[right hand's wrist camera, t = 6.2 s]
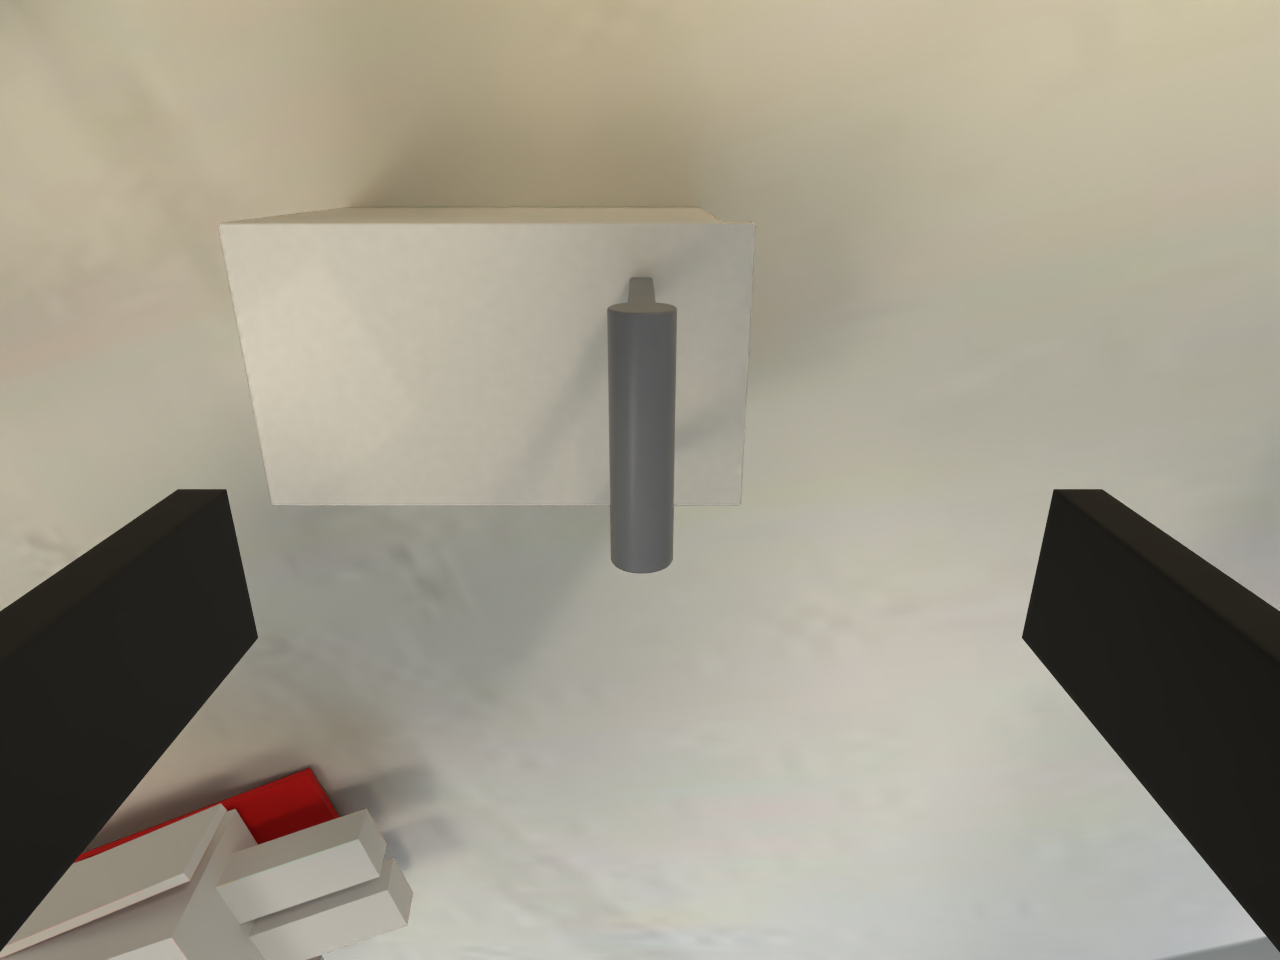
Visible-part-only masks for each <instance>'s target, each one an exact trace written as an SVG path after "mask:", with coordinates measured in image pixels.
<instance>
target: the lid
mask: <svg viewBox="0 0 1280 960" xmlns="http://www.w3.org/2000/svg"><path fill="white" fill-rule="evenodd" d="M218 229H219V234H220V239H221V244H222V249H223V255H224V260H225V265H226V270H227V275H228V281H229V286H230V291H231V296H232V301H233V307H234V312H235V317H236V322H237V327H238V333H239V338H240V343H241V348H242V353H243V359H244V364H245V369H246V374H247V379H248V385H249V390H250V395H251V400H252V405H253V411H254V416H255V421H256V426H257V431H258V437H259V442H260V447H261V452H262V457H263V463H264V468H265V473H266V478H267V483H268V489H269V494H270V499H271V504H272V506H610V529H611V560H612V563H613V564H614V565H615V566H616V567H617V568H619V569H621V570H624V571H627V572H632V573H652V572H657V571H660V570H662V569H665V568H666V567H668V566H669V565H670V564H671V562H672V560H673V514H674V506H739V505H740V504H741V495H742V476H743V457H744V438H745V419H746V400H747V381H748V362H749V343H750V324H751V305H752V286H753V267H754V248H755V229H756V225H755V223H753V222H750V221H231V222H223V223H219V224H218Z"/></svg>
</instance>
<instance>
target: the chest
mask: <svg viewBox="0 0 1280 960" xmlns="http://www.w3.org/2000/svg"><path fill="white" fill-rule="evenodd" d="M239 221H720V220H719V219H717V218H715V217H714V216H712V215H710V214H709V213H707V212H705V211H704V210H702V209H701V208H699V207H346V208H338V209H330V210H322V211H313V212H305V213H297V214H289V215H280V216H272V217H264V218H256V219H247V220H239Z"/></svg>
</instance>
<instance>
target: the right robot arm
mask: <svg viewBox="0 0 1280 960" xmlns="http://www.w3.org/2000/svg"><path fill="white" fill-rule="evenodd" d="M257 638H258V635H257V631H256V626H255V621H254V617H253V612H252V607H251V603H250V598H249V593H248V589H247V584H246V579H245V575H244V570H243V565H242V561H241V556H240V551H239V547H238V542H237V537H236V533H235V528H234V523H233V519H232V514H231V509H230V505H229V500H228V495H227V491H226V489H178V490H176V491H175V492H173V493H172V494H171V495H169V496H168V497H166V498H165V499H163V500H162V501H160V502H159V503H157V504H156V505H155V506H153V507H152V508H150V509H149V510H147V511H146V512H144V513H143V514H141V515H140V516H139V517H137V518H136V519H134V520H133V521H131V522H130V523H128V524H127V525H125V526H124V527H123V528H121V529H120V530H118V531H117V532H115V533H114V534H112V535H111V536H109V537H108V538H107V539H105V540H104V541H102V542H101V543H99V544H98V545H96V546H95V547H93V548H92V549H91V550H89V551H88V552H86V553H85V554H83V555H82V556H80V557H79V558H77V559H76V560H75V561H73V562H72V563H70V564H69V565H67V566H66V567H64V568H63V569H61V570H60V571H59V572H57V573H56V574H54V575H53V576H51V577H50V578H48V579H47V580H45V581H44V582H42V583H41V584H40V585H38V586H37V587H35V588H34V589H32V590H31V591H29V592H28V593H26V594H25V595H24V596H22V597H21V598H19V599H18V600H16V601H15V602H13V603H12V604H10V605H9V606H8V607H6V608H5V609H3V610H2V611H0V952H1V951H2V949H3V948H4V947H5V946H6V945H7V943H8V942H9V941H10V940H11V938H12V937H13V936H14V935H15V934H16V932H17V931H18V930H19V929H20V927H21V926H22V925H23V924H24V923H25V921H26V920H27V919H28V918H29V916H30V915H31V914H32V913H33V912H34V910H35V909H36V908H37V907H38V905H39V904H40V903H41V902H42V901H43V899H44V898H45V897H46V896H47V895H48V893H49V892H50V891H51V890H52V888H53V887H54V886H55V885H56V884H57V882H58V881H59V880H60V879H61V877H62V876H63V875H64V874H65V873H66V871H67V870H68V869H69V868H70V866H71V865H72V864H73V863H74V862H75V860H76V859H77V858H78V857H79V855H80V854H81V853H82V852H83V851H84V849H85V848H86V847H87V846H88V845H89V843H90V842H91V841H92V840H93V838H94V837H95V836H96V835H97V834H98V832H99V831H100V830H101V829H102V827H103V826H104V825H105V824H106V823H107V821H108V820H109V819H110V818H111V816H112V815H113V814H114V813H115V812H116V810H117V809H118V808H119V807H120V806H121V804H122V803H123V802H124V801H125V799H126V798H127V797H128V796H129V795H130V793H131V792H132V791H133V790H134V788H135V787H136V786H137V785H138V784H139V782H140V781H141V780H142V779H143V777H144V776H145V775H146V774H147V773H148V771H149V770H150V769H151V768H152V766H153V765H154V764H155V763H156V762H157V760H158V759H159V758H160V757H161V756H162V754H163V753H164V752H165V751H166V749H167V748H168V747H169V746H170V745H171V743H172V742H173V741H174V740H175V738H176V737H177V736H178V735H179V734H180V732H181V731H182V730H183V729H184V727H185V726H186V725H187V724H188V723H189V721H190V720H191V719H192V718H193V716H194V715H195V714H196V713H197V712H198V710H199V709H200V708H201V707H202V706H203V704H204V703H205V702H206V701H207V699H208V698H209V697H210V696H211V695H212V693H213V692H214V691H215V690H216V688H217V687H218V686H219V685H220V684H221V682H222V681H223V680H224V679H225V677H226V676H227V675H228V674H229V673H230V671H231V670H232V669H233V668H234V666H235V665H236V664H237V663H238V662H239V660H240V659H241V658H242V657H243V656H244V654H245V653H246V652H247V651H248V649H249V648H250V647H251V646H252V645H253V643H254V642H255V641H256V640H257ZM1022 638H1023V640H1024V641H1025V642H1026V643H1027V645H1028V646H1029V647H1030V648H1031V649H1032V651H1033V652H1034V653H1035V654H1036V656H1037V657H1038V658H1039V659H1040V660H1041V662H1042V663H1043V664H1044V665H1045V666H1046V668H1047V669H1048V670H1049V671H1050V673H1051V674H1052V675H1053V676H1054V677H1055V679H1056V680H1057V681H1058V682H1059V684H1060V685H1061V686H1062V687H1063V688H1064V690H1065V691H1066V692H1067V693H1068V695H1069V696H1070V697H1071V698H1072V699H1073V701H1074V702H1075V703H1076V704H1077V706H1078V707H1079V708H1080V709H1081V710H1082V712H1083V713H1084V714H1085V715H1086V716H1087V718H1088V719H1089V720H1090V721H1091V723H1092V724H1093V725H1094V726H1095V727H1096V729H1097V730H1098V731H1099V732H1100V734H1101V735H1102V736H1103V737H1104V738H1105V740H1106V741H1107V742H1108V743H1109V745H1110V746H1111V747H1112V748H1113V749H1114V751H1115V752H1116V753H1117V754H1118V756H1119V757H1120V758H1121V759H1122V760H1123V762H1124V763H1125V764H1126V765H1127V766H1128V768H1129V769H1130V770H1131V771H1132V773H1133V774H1134V775H1135V776H1136V777H1137V779H1138V780H1139V781H1140V782H1141V784H1142V785H1143V786H1144V787H1145V788H1146V790H1147V791H1148V792H1149V793H1150V795H1151V796H1152V797H1153V798H1154V799H1155V801H1156V802H1157V803H1158V804H1159V806H1160V807H1161V808H1162V809H1163V810H1164V812H1165V813H1166V814H1167V815H1168V816H1169V818H1170V819H1171V820H1172V821H1173V823H1174V824H1175V825H1176V826H1177V827H1178V829H1179V830H1180V831H1181V832H1182V834H1183V835H1184V836H1185V837H1186V838H1187V840H1188V841H1189V842H1190V843H1191V845H1192V846H1193V847H1194V848H1195V849H1196V851H1197V852H1198V853H1199V854H1200V855H1201V857H1202V858H1203V859H1204V860H1205V862H1206V863H1207V864H1208V865H1209V866H1210V868H1211V869H1212V870H1213V871H1214V873H1215V874H1216V875H1217V876H1218V877H1219V879H1220V880H1221V881H1222V882H1223V884H1224V885H1225V886H1226V887H1227V888H1228V890H1229V891H1230V892H1231V893H1232V895H1233V896H1234V897H1235V898H1236V899H1237V901H1238V902H1239V903H1240V904H1241V905H1242V907H1243V908H1244V909H1245V910H1246V912H1247V913H1248V914H1249V915H1250V916H1251V918H1252V919H1253V920H1254V921H1255V923H1256V924H1257V925H1258V926H1259V927H1260V929H1261V930H1262V931H1263V932H1264V934H1265V935H1266V936H1267V937H1268V938H1269V940H1270V941H1271V942H1272V943H1273V945H1274V946H1275V947H1276V948H1277V949H1278V951H1279V952H1280V611H1278V610H1277V609H1275V608H1274V607H1272V606H1271V605H1270V604H1268V603H1267V602H1265V601H1264V600H1262V599H1261V598H1259V597H1258V596H1256V595H1255V594H1254V593H1252V592H1251V591H1249V590H1248V589H1246V588H1245V587H1243V586H1242V585H1240V584H1239V583H1238V582H1236V581H1235V580H1233V579H1232V578H1230V577H1229V576H1227V575H1226V574H1224V573H1223V572H1221V571H1220V570H1219V569H1217V568H1216V567H1214V566H1213V565H1211V564H1210V563H1208V562H1207V561H1205V560H1204V559H1203V558H1201V557H1200V556H1198V555H1197V554H1195V553H1194V552H1192V551H1191V550H1189V549H1188V548H1187V547H1185V546H1184V545H1182V544H1181V543H1179V542H1178V541H1176V540H1175V539H1173V538H1172V537H1171V536H1169V535H1168V534H1166V533H1165V532H1163V531H1162V530H1160V529H1159V528H1157V527H1156V526H1155V525H1153V524H1152V523H1150V522H1149V521H1147V520H1146V519H1144V518H1143V517H1141V516H1140V515H1139V514H1137V513H1136V512H1134V511H1133V510H1131V509H1130V508H1128V507H1127V506H1125V505H1124V504H1123V503H1121V502H1120V501H1118V500H1117V499H1115V498H1114V497H1112V496H1111V495H1109V494H1108V493H1107V492H1105V491H1104V490H1102V489H1054V491H1053V495H1052V500H1051V505H1050V509H1049V514H1048V519H1047V523H1046V528H1045V533H1044V537H1043V542H1042V547H1041V551H1040V556H1039V561H1038V565H1037V570H1036V575H1035V579H1034V584H1033V589H1032V593H1031V598H1030V603H1029V607H1028V612H1027V617H1026V621H1025V626H1024V631H1023V635H1022Z"/></svg>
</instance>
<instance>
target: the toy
mask: <svg viewBox="0 0 1280 960" xmlns="http://www.w3.org/2000/svg"><path fill="white" fill-rule="evenodd" d="M386 847H387V844H386V842H385V840H384V838H383V837H382V835H381V833H380V831H379V829H378V827H377V826H376V824H375V822H374V820H373V818H372V817H371V815H370V813H369V811H368V809H367V808H366V809H363V810H360V811H357V812H354V813H351V814H348V815H345V816H342V817H339V815H338V814H337V812H336V811H335V809H334V807H333V806H332V804H331V802H330V801H329V799H328V797H327V796H326V794H325V792H324V791H323V789H322V787H321V786H320V784H319V782H318V781H317V779H316V777H315V776H314V774H313V773H312V771H311V769H310V768H308V769H305V770H303V771H300V772H297V773H295V774H292V775H289V776H287V777H284V778H282V779H279V780H276V781H274V782H271V783H268V784H266V785H263V786H260V787H258V788H255V789H252V790H250V791H247V792H244V793H242V794H239V795H236V796H234V797H231V798H228V799H226V800H223V801H220V802H218V803H215V804H212V805H210V806H207V807H205V808H202V809H199V810H197V811H194V812H191V813H189V814H186V815H183V816H181V817H178V818H175V819H173V820H170V821H167V822H165V823H162V824H159V825H157V826H154V827H151V828H149V829H146V830H143V831H141V832H138V833H136V834H133V835H130V836H128V837H125V838H122V839H120V840H117V841H114V842H112V843H109V844H106V845H104V846H101V847H98V848H96V849H93V850H90V851H88V852H85V853H82V854H80V855H79V857H78V858H77V859H76V860H75V862H74V863H73V864H72V865H71V866H70V868H69V869H68V870H67V871H66V873H65V874H64V875H63V876H62V877H61V879H60V880H59V881H58V882H57V884H56V885H55V886H54V887H53V888H52V890H51V891H50V892H49V893H48V895H47V896H46V897H45V898H44V899H43V901H42V902H41V903H40V904H39V905H38V907H37V908H36V909H35V910H34V912H33V913H32V914H31V915H30V916H29V918H28V919H27V920H26V921H25V923H24V924H23V925H22V926H21V927H20V929H19V930H18V931H17V932H16V934H15V935H14V936H13V937H12V938H11V940H10V941H9V942H8V943H7V945H6V946H5V947H4V948H3V949H2V951H1V952H0V960H324V959H323V957H322V954H325V953H328V952H331V951H334V950H337V949H339V948H342V947H345V946H348V945H351V944H354V943H357V942H360V941H363V940H366V939H369V938H372V937H375V936H378V935H380V934H383V933H386V932H389V931H392V930H395V929H398V928H401V927H404V926H407V924H408V918H409V912H410V907H411V901H412V895H413V891H412V889H411V888H410V886H409V884H408V882H407V880H406V879H405V877H404V875H403V873H402V871H401V869H400V868H399V866H398V864H397V862H396V860H395V858H392V859H389V860H386V861H383V860H384V856H385V852H386ZM319 955H321V956H319ZM316 956H317V957H316Z"/></svg>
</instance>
